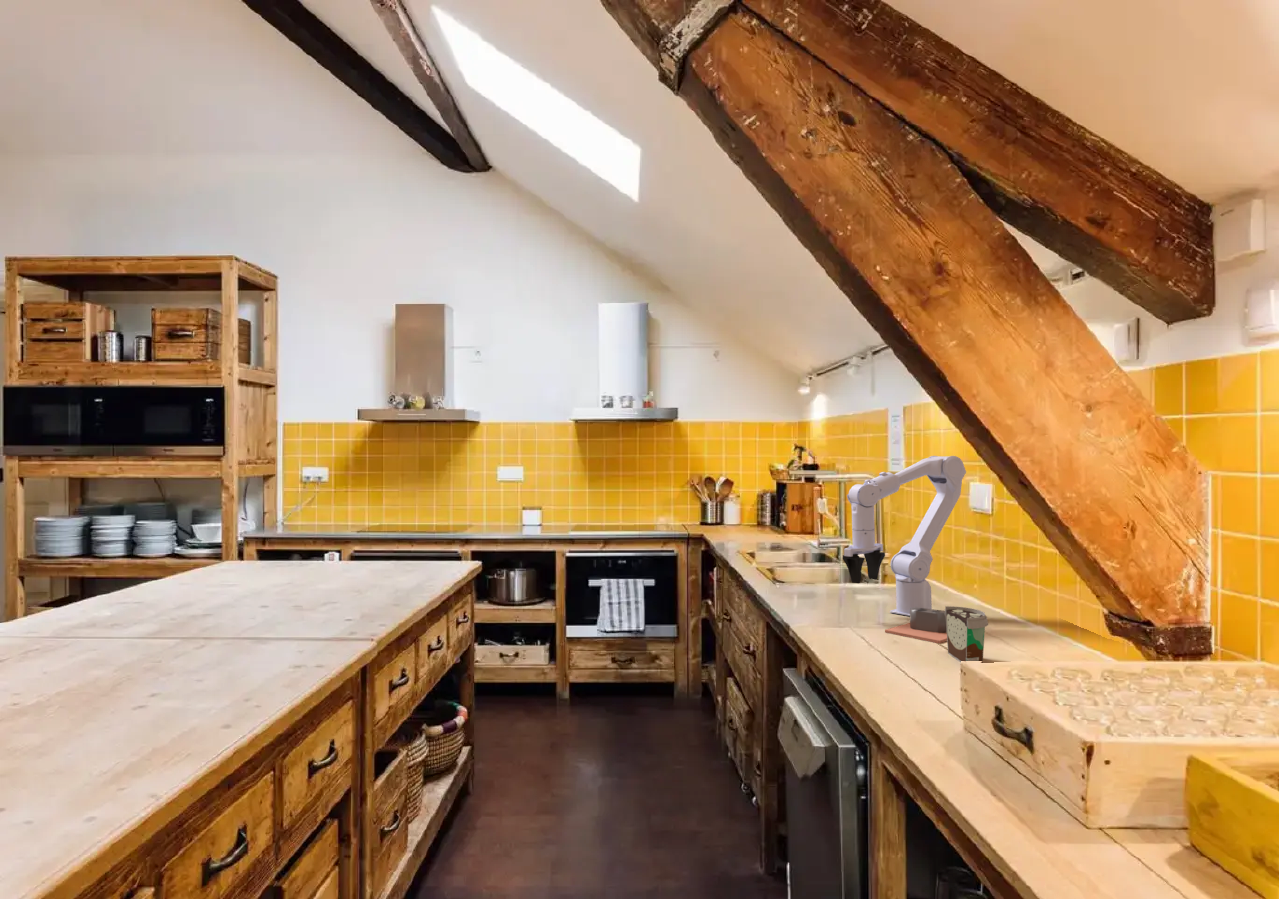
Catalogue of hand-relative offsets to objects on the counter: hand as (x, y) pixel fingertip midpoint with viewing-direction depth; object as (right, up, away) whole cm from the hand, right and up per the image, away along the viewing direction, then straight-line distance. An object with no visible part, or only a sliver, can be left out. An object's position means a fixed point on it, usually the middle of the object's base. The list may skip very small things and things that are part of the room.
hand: (864, 581), depth 196 cm
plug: (+10, -9, -17) cm, 22 cm away
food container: (+10, -9, -41) cm, 43 cm away
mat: (+10, -9, -17) cm, 22 cm away
